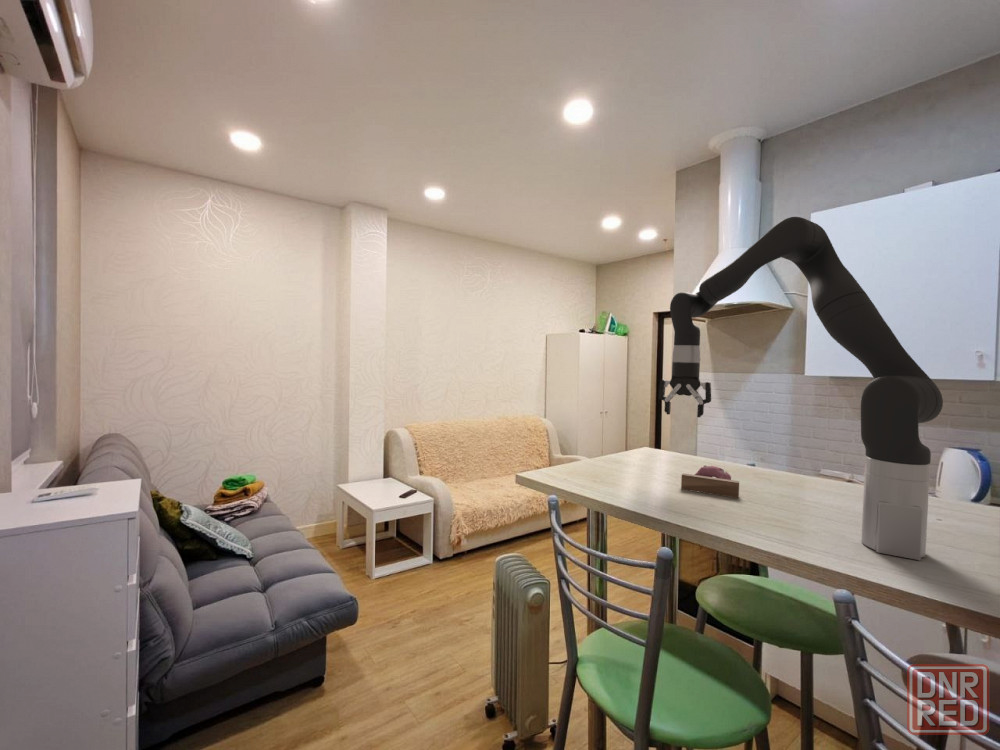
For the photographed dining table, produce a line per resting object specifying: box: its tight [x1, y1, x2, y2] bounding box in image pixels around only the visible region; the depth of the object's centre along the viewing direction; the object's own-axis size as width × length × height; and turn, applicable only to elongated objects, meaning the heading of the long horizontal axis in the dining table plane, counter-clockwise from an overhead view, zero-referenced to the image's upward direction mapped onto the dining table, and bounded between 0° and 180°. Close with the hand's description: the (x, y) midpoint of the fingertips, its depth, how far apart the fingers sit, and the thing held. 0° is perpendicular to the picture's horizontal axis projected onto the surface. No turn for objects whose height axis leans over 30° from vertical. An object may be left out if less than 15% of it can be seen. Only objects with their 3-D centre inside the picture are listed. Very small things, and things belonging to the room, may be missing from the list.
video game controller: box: [694, 465, 732, 480], centre depth 125 cm, size 10×5×7 cm, turn 22°
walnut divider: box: [680, 472, 740, 499], centre depth 119 cm, size 2×14×4 cm, turn 59°
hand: (683, 415), depth 131 cm, fingers open, 8 cm apart
